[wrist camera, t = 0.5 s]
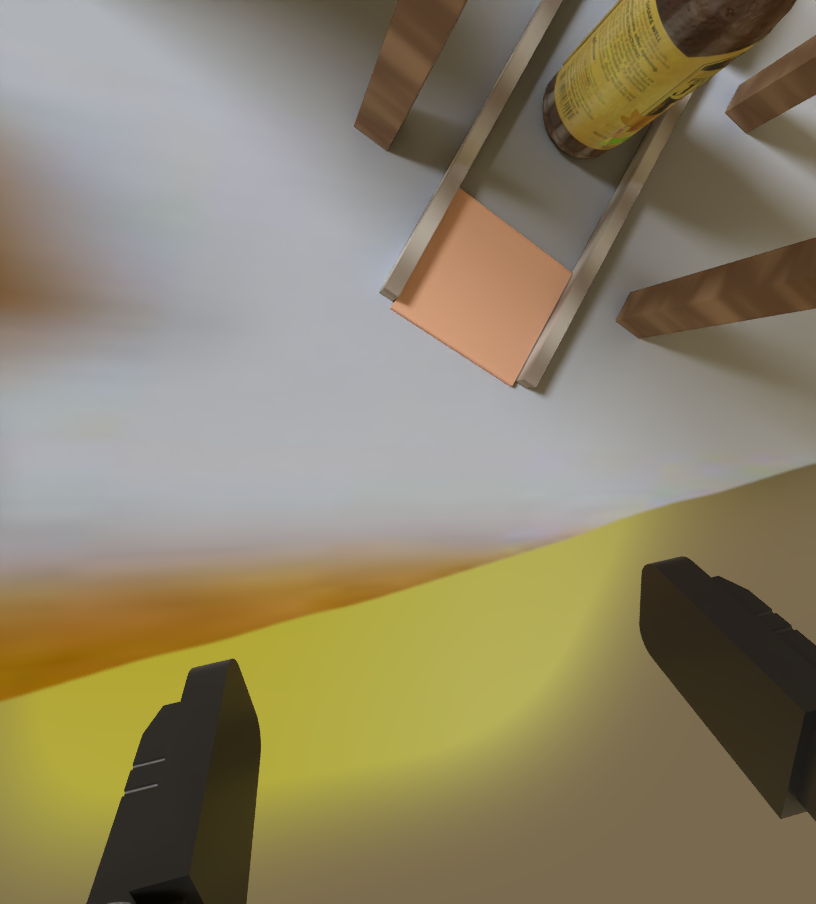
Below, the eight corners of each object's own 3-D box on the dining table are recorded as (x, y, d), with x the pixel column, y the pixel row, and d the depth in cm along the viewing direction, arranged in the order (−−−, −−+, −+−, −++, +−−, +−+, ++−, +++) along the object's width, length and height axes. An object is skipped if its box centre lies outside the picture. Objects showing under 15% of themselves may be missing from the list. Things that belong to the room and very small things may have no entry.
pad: (509, 386, 37) (512, 386, 36) (390, 308, 34) (391, 307, 34) (569, 274, 37) (572, 273, 37) (456, 189, 35) (458, 186, 34)
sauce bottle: (590, 183, 37) (941, -50, 18) (521, 123, 35) (831, -204, 16) (633, 107, 38) (1021, -198, 19) (567, 44, 36) (921, -364, 17)
